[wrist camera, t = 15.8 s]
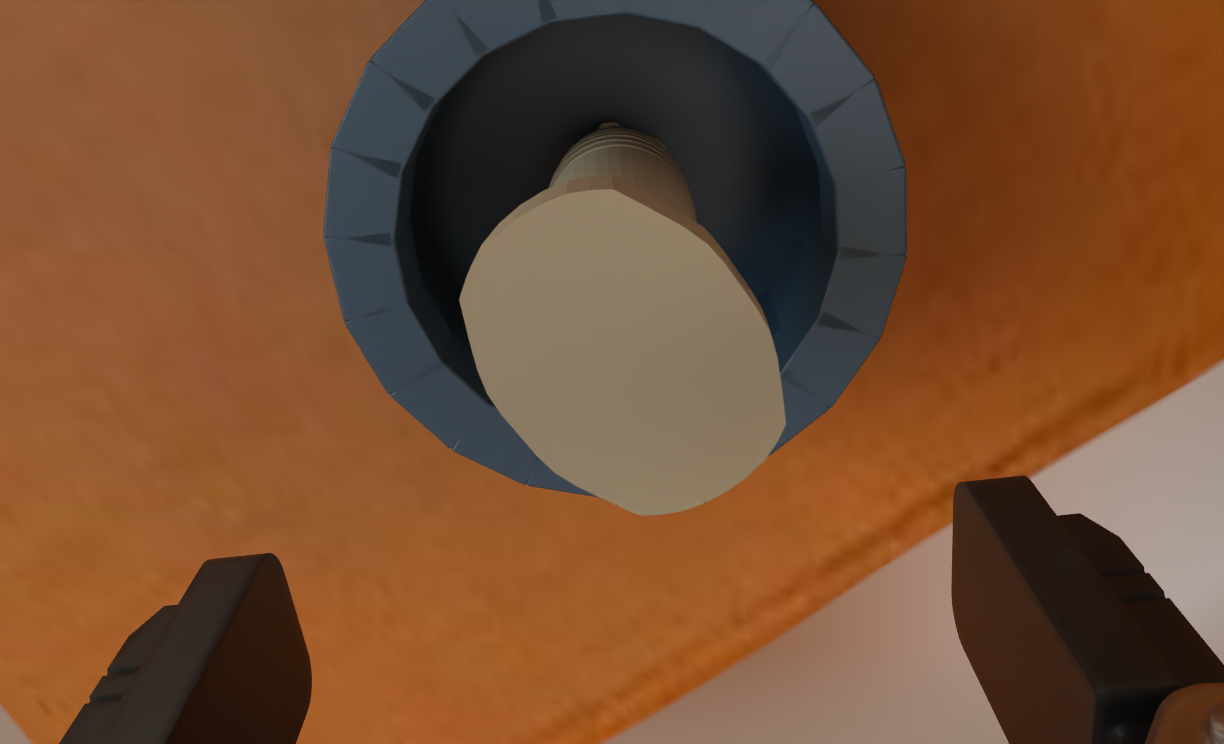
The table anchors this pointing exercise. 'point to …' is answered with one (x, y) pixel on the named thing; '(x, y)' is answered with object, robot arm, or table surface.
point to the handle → (624, 332)
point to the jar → (568, 111)
